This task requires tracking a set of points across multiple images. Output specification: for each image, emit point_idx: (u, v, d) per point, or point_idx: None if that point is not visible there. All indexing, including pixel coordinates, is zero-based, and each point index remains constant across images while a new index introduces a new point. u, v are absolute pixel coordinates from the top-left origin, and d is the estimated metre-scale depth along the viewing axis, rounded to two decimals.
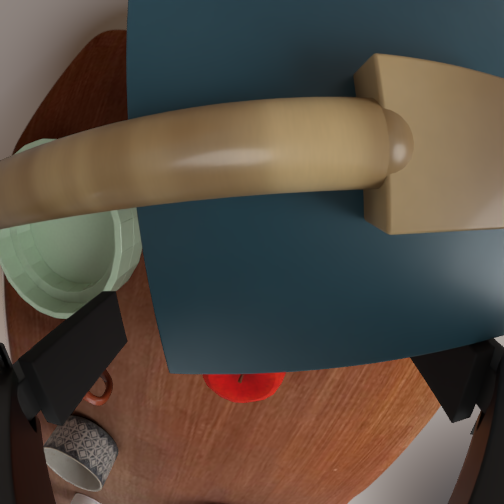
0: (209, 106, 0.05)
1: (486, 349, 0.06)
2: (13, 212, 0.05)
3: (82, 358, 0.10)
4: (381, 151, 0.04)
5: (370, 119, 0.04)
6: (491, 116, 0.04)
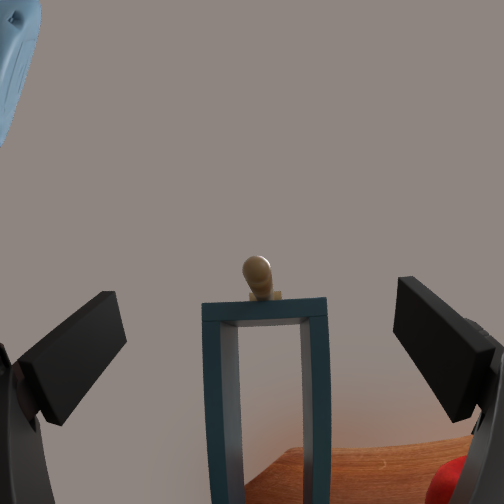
0: None
1: (487, 349, 0.06)
2: None
3: (81, 358, 0.10)
4: None
5: None
6: None
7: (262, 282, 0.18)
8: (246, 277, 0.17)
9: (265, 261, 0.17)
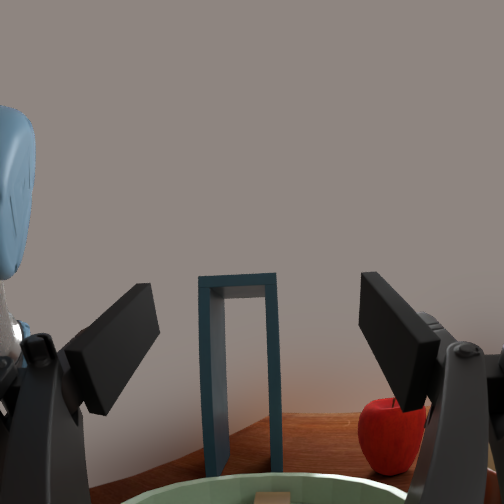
0: None
1: (430, 341, 0.08)
2: None
3: (123, 348, 0.11)
4: None
5: None
6: (264, 502, 0.19)
7: None
8: None
9: None
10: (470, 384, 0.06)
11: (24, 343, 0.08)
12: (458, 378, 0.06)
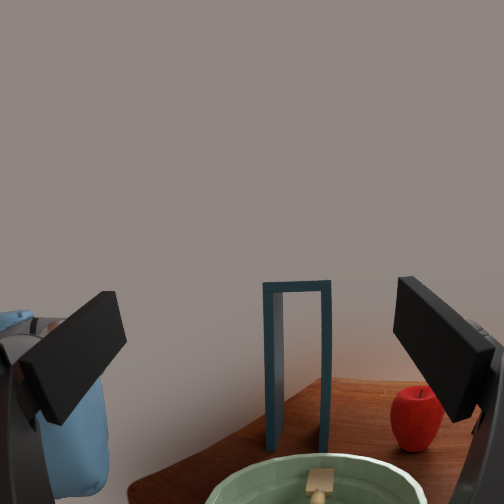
0: None
1: (487, 349, 0.06)
2: None
3: (81, 358, 0.10)
4: (320, 491, 0.25)
5: (315, 492, 0.25)
6: (315, 477, 0.28)
7: None
8: None
9: None
10: None
11: None
12: None
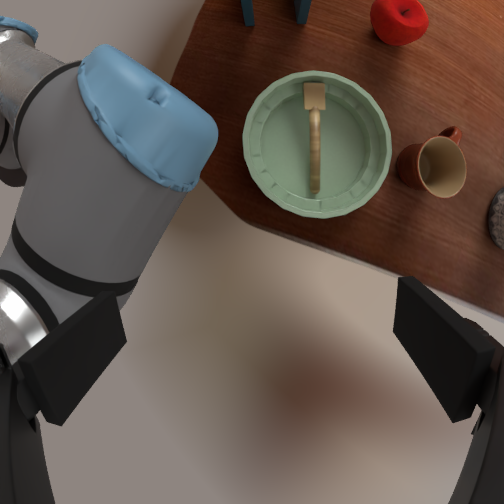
0: (310, 127, 0.42)
1: (487, 349, 0.06)
2: (318, 155, 0.43)
3: (81, 358, 0.10)
4: (316, 110, 0.40)
5: (313, 111, 0.40)
6: (310, 93, 0.39)
7: None
8: None
9: (318, 192, 0.46)
10: None
11: None
12: None
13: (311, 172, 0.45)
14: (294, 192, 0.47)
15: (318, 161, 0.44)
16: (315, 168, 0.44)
